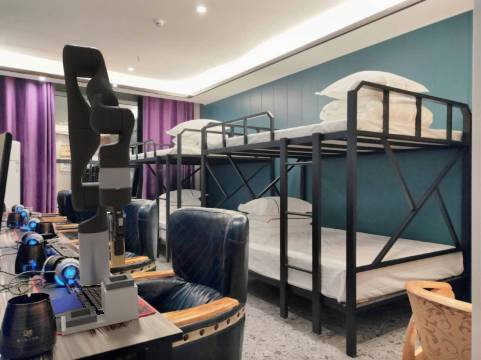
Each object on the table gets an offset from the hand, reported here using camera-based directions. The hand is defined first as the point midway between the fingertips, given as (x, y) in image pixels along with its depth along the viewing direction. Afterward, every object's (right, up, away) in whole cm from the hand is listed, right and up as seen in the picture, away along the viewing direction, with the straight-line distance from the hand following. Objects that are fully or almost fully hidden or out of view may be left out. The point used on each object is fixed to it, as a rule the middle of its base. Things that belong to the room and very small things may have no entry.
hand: (117, 253), depth 87 cm
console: (-4, -16, -2) cm, 17 cm away
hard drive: (-17, -17, +7) cm, 25 cm away
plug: (0, -3, 0) cm, 3 cm away
